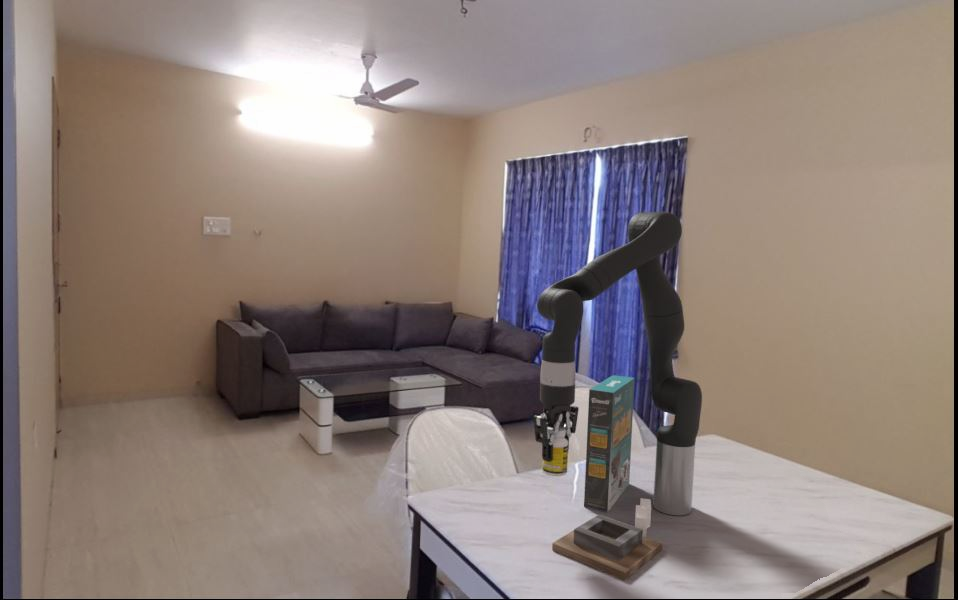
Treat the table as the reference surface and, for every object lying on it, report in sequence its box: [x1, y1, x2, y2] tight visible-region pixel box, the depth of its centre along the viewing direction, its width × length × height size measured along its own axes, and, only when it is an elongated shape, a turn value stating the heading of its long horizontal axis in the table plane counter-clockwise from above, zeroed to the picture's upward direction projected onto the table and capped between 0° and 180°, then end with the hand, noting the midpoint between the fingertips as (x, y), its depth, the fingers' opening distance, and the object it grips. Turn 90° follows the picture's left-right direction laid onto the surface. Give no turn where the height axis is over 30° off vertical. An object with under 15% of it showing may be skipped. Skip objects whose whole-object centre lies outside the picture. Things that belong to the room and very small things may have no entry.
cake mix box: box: [583, 375, 635, 513], centre depth 156 cm, size 22×6×30 cm, turn 152°
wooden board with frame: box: [551, 514, 664, 581], centre depth 127 cm, size 17×17×4 cm
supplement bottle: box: [542, 426, 569, 477], centre depth 129 cm, size 5×5×10 cm
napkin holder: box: [634, 497, 652, 537], centre depth 138 cm, size 15×11×6 cm
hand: (555, 456), depth 129 cm, fingers closed on supplement bottle, 5 cm apart
